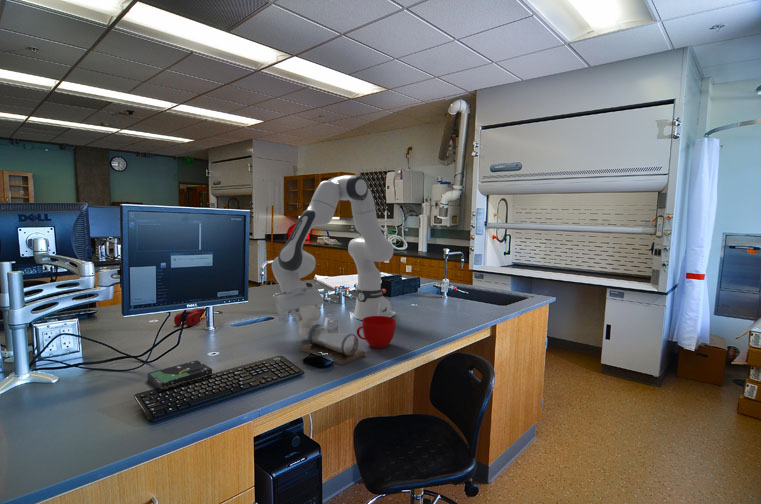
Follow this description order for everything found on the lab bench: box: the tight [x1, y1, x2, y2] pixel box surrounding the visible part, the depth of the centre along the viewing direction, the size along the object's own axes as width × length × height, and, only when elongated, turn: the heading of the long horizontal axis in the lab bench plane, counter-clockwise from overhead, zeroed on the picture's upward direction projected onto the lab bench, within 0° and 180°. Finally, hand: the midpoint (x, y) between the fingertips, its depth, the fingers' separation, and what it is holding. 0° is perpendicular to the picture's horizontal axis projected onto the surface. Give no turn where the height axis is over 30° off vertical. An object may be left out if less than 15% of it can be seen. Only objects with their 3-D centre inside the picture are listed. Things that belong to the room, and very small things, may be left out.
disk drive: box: [147, 359, 213, 389], centre depth 119 cm, size 10×3×15 cm
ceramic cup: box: [356, 316, 397, 349], centre depth 152 cm, size 13×17×10 cm
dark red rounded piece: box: [173, 308, 206, 327], centre depth 178 cm, size 16×7×5 cm, turn 172°
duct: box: [300, 318, 366, 366], centre depth 143 cm, size 12×21×12 cm, turn 51°
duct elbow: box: [298, 304, 322, 337], centre depth 156 cm, size 6×9×11 cm
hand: (307, 318), depth 156 cm, fingers closed on duct elbow, 6 cm apart
